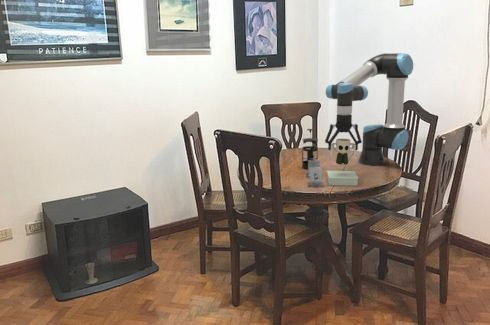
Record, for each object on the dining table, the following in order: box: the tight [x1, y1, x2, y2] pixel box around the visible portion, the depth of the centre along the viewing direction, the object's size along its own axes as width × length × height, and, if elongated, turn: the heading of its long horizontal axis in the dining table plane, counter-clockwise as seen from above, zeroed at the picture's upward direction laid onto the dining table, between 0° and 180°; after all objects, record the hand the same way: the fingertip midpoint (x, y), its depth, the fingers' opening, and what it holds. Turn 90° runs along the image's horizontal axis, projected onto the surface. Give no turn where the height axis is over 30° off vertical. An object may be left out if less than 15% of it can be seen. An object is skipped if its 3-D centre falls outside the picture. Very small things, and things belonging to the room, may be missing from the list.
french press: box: [301, 128, 319, 170], centre depth 264 cm, size 12×9×23 cm
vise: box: [305, 159, 325, 188], centre depth 238 cm, size 8×25×9 cm, turn 175°
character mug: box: [332, 137, 355, 166], centre depth 233 cm, size 11×7×13 cm, turn 86°
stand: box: [326, 170, 359, 187], centre depth 236 cm, size 15×15×4 cm
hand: (342, 156), depth 233 cm, fingers closed on character mug, 11 cm apart
